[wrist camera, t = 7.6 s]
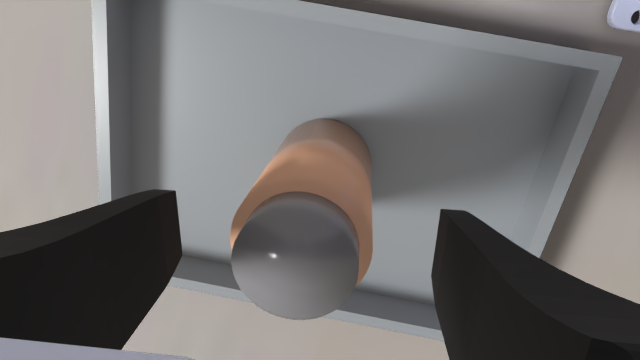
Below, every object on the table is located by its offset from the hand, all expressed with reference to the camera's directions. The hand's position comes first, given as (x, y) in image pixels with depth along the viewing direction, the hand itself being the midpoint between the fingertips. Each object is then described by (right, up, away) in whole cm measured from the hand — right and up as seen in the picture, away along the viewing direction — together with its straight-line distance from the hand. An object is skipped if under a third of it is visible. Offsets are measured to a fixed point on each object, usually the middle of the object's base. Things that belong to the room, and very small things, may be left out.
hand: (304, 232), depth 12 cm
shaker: (+1, +2, +9) cm, 9 cm away
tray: (+1, +2, +9) cm, 9 cm away
